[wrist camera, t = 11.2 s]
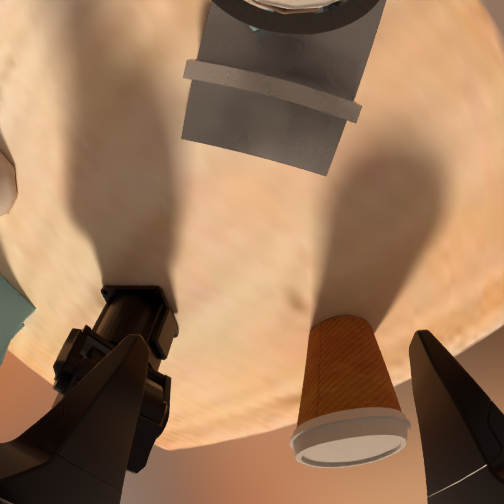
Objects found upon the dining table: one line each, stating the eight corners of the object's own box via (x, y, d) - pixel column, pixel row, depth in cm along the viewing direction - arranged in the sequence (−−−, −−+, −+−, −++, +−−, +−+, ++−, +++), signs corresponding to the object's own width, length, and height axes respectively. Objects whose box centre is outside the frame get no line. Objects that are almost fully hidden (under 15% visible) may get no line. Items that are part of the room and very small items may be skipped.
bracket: (323, 169, 19) (330, 189, 17) (186, 133, 18) (170, 148, 16) (394, -47, 10) (412, -61, 7) (247, -88, 9) (240, -109, 6)
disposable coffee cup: (389, 352, 30) (409, 455, 20) (305, 370, 32) (304, 473, 22) (384, 291, 25) (417, 419, 15) (278, 316, 27) (272, 444, 18)
